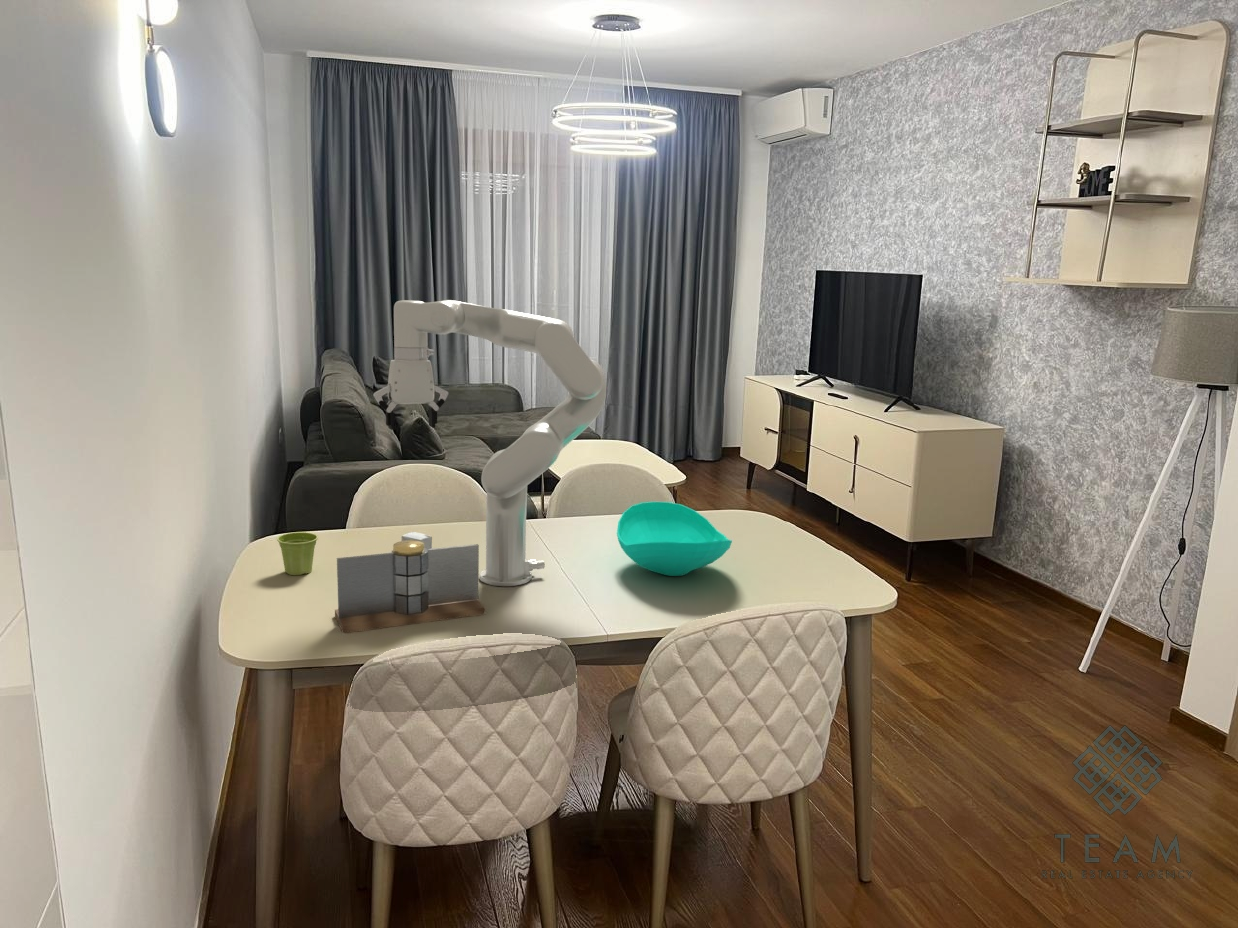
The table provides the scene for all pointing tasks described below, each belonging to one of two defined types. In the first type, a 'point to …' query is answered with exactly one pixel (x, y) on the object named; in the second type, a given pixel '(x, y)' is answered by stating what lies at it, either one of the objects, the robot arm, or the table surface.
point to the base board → (411, 616)
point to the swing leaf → (445, 576)
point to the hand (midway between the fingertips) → (411, 427)
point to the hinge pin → (408, 548)
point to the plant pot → (297, 552)
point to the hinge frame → (378, 584)
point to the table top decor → (669, 538)
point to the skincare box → (419, 539)
